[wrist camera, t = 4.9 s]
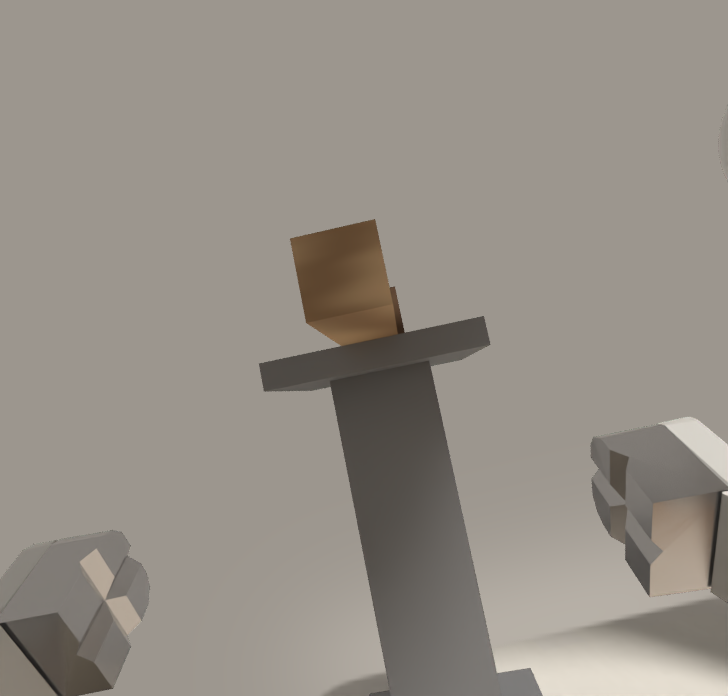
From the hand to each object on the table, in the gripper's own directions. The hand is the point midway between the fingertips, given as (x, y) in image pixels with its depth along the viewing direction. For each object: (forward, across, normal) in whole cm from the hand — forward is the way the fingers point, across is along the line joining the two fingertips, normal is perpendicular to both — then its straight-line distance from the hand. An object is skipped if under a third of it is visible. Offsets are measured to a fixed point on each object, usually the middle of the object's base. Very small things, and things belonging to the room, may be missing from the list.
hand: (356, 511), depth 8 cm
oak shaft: (+18, 0, +5) cm, 18 cm away
